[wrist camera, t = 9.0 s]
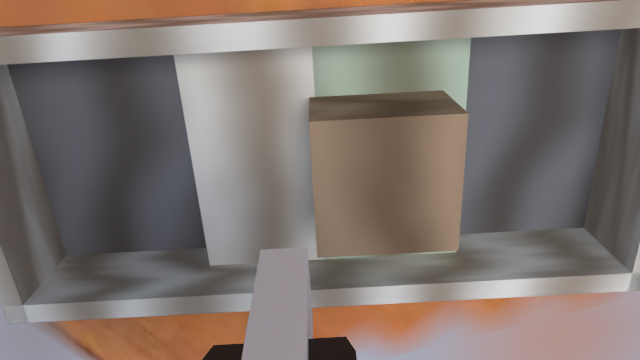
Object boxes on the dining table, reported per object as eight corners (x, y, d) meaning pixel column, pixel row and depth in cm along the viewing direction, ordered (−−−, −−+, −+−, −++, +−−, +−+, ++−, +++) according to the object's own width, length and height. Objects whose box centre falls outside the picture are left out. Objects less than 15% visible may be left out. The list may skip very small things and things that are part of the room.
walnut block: (316, 215, 28) (317, 257, 24) (309, 97, 25) (308, 121, 21) (436, 209, 28) (458, 250, 24) (442, 90, 25) (468, 113, 21)
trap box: (56, 268, 32) (8, 323, 27) (-22, 28, 26) (-103, 42, 21) (595, 239, 32) (649, 290, 27) (646, -11, 26) (728, -6, 20)
